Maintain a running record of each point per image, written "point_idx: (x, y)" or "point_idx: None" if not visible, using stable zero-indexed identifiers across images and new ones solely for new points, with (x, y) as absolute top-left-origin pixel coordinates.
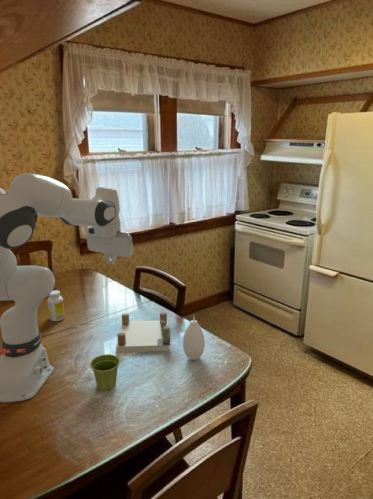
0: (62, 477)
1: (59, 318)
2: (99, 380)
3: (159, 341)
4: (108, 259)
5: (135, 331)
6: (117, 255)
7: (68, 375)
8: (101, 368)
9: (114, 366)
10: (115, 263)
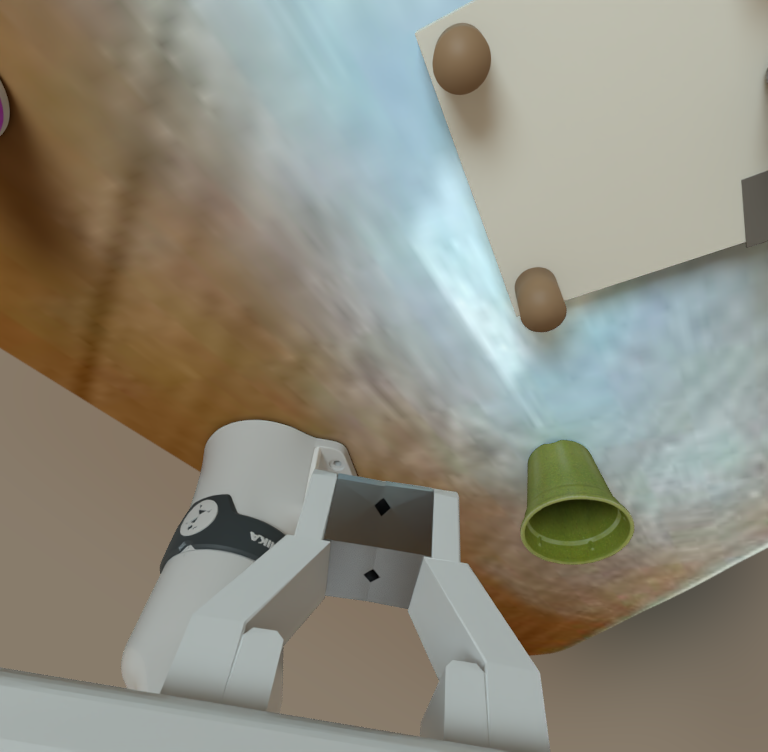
0: (578, 636)
1: (1, 122)
2: (558, 518)
3: (757, 203)
4: (320, 589)
5: (569, 137)
6: (540, 690)
7: (407, 452)
8: (538, 478)
9: (591, 478)
10: (457, 495)
